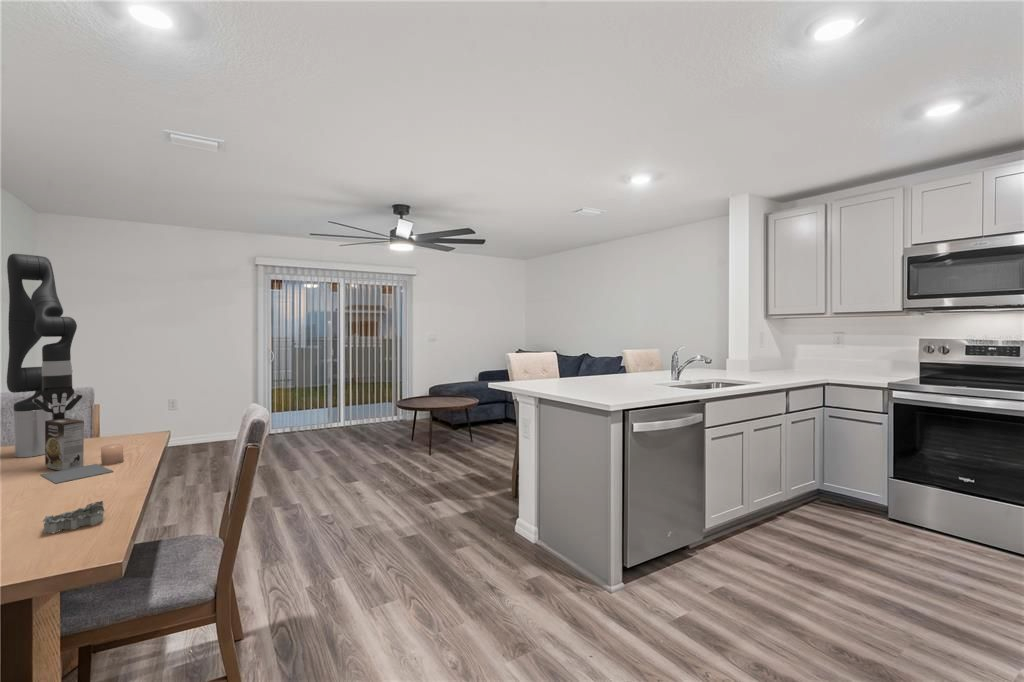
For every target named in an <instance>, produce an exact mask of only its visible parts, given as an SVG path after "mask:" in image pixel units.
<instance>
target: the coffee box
mask: <svg viewBox="0 0 1024 682" xmlns="http://www.w3.org/2000/svg"><path fill="white" fill-rule="evenodd" d="M84 438H85V420H81V419H76V418H71V417H70V418H69V417H66V418H64V419H54V420H52V419H49V420H48V421H45V454H44V455H45V456H44V458H45V459H44V460H45V463H44V464H45V465H44V466H45V469H52V470H56V471H61V470H66V469H71V468H76V467H82V466H84V446H85V444H84V443H85V442H84V440H85V439H84Z"/></svg>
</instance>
